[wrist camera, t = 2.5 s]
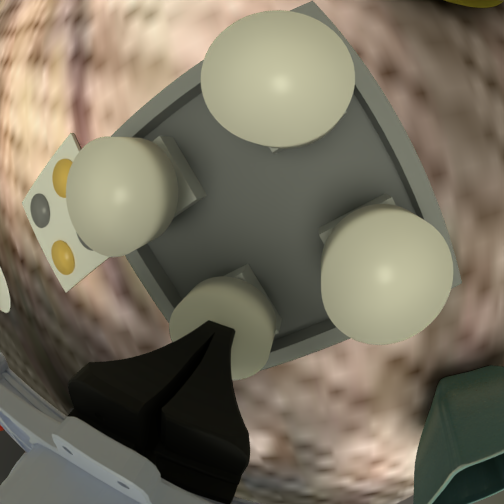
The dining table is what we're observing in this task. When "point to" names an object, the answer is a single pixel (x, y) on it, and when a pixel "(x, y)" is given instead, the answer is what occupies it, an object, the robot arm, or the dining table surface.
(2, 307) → the wineglass
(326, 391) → the dining table surface
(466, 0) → the flowerpot
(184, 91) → the button board
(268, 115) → the button
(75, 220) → the button
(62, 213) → the card
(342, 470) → the dining table surface
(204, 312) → the button
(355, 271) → the button
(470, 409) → the flower pot
